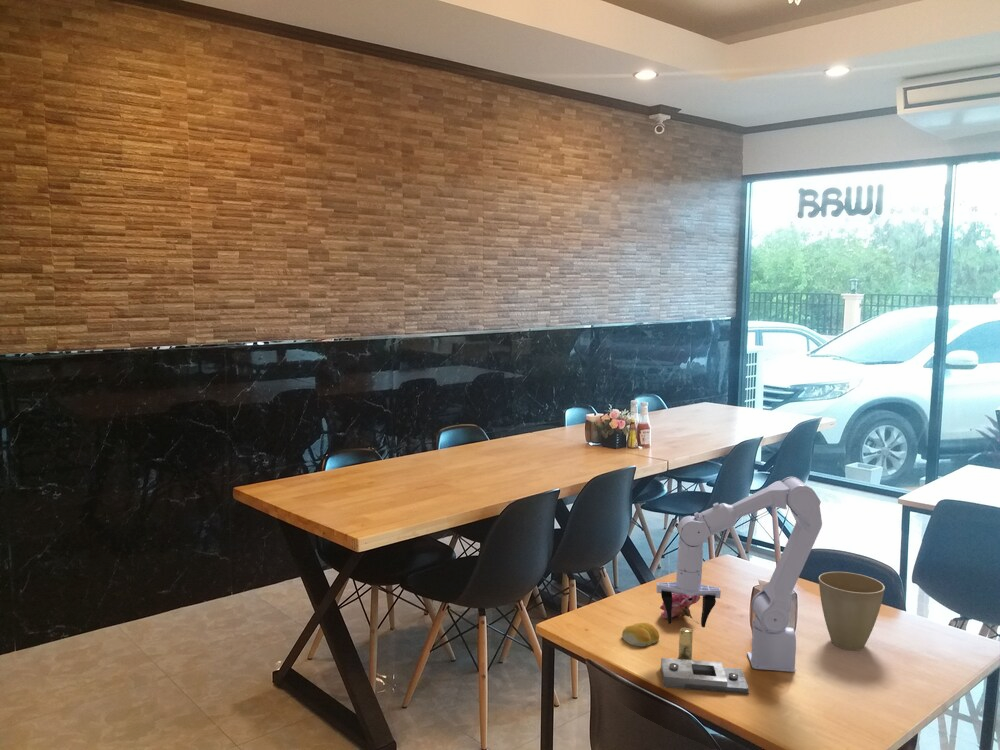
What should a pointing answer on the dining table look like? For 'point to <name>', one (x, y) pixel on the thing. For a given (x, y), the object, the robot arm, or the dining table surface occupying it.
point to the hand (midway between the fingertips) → (686, 624)
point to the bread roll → (640, 634)
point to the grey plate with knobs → (702, 676)
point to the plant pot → (850, 607)
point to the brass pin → (685, 643)
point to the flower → (680, 605)
